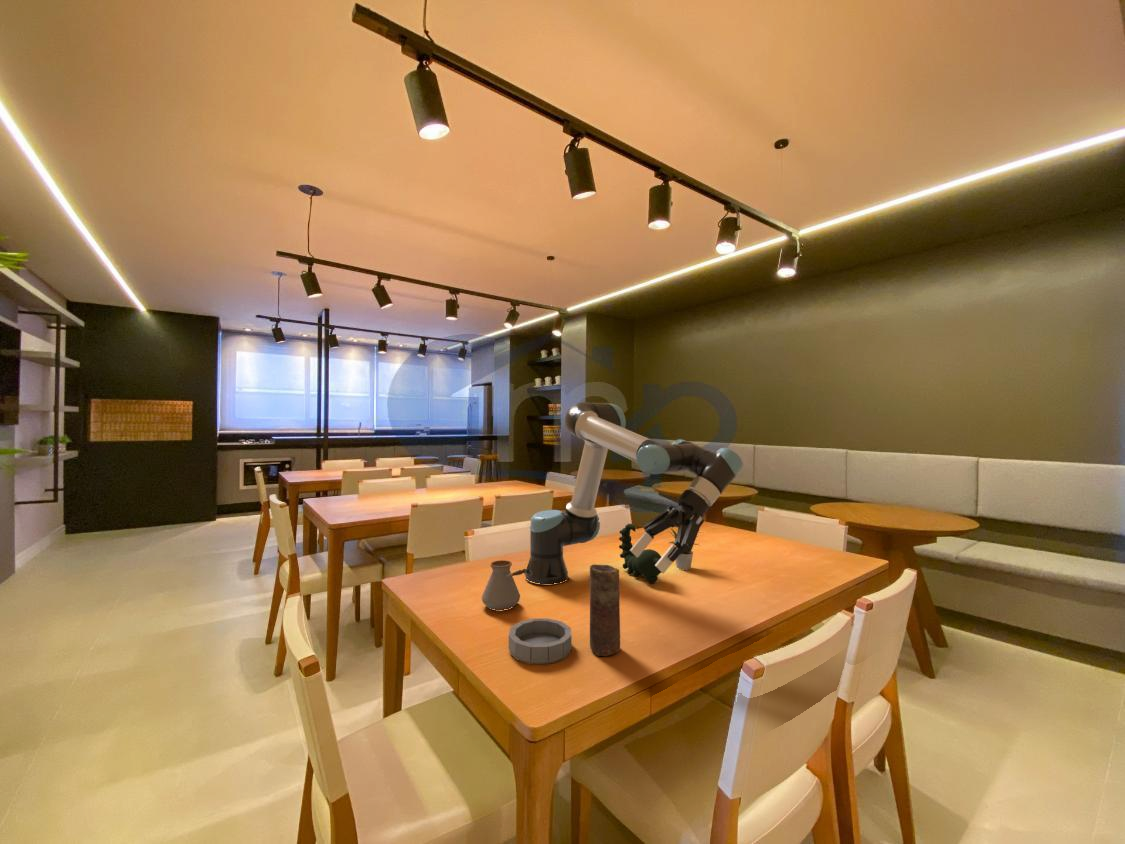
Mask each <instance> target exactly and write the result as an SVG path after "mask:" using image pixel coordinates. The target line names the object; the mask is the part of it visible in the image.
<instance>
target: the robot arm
mask: <svg viewBox="0 0 1125 844" xmlns="http://www.w3.org/2000/svg"><path fill="white" fill-rule="evenodd" d="M564 417H565V418H564V424H565V427H566V429H567V431H568V432H569V433H570V434H571V435H573V436H574V437H576V438H578V439H579V440H583V441H584V446H583V450H582V454H581V458H580V463H579V467H578V471H577V475H576V480H575V485H574V489H573V493H572V497H571V501H570V502H568V503H566V506H565V510H564V512H563V511H562V510H559V509H550V510H548V509H547V510H540V511H538V512H536V513H534V514H532V516H531V518H530V526H529V529H530V531H529V532H530V539H529V540H530V547H529V548H530V551H529V552H530V557H529V560H528V563H527V567H526V569H529V571H528V572H526V573H524V578H525V577H526V579H528V580H529V581H532V582H535V583H540V584H554V583H560V582H563V581H565V580H567V581H568V579H569V577H568V576H569V572H568V568H567V564H566V562H565V559H564V547H566V546H571V545H577V544H584V543H585V544H586V543H588V542H590V541H593V540H594V539H596V537H597V536H598V534H599V531H600V527H601V523H600V521H599V520H600V517H599V515H598V511H597V509H596V508H595V504H596V501H597V496H598V492H599V487H600V485H601V484H600V483H601V480H602V475H603V472H604V467H605V463H606V458H607V455H608V451H609V450H610V451H612V452H614V453H616V454H618V455H620V456H622V457H624V458H626V459H628V460H629V461H632V462H635V463H636V465H637V467H638V468H639V469H640V471H641V472H643V473H644V474H647V475H659V474H660V475H661V474H668V473H669V474H670V473H680V472H689V473H691V474H693V475H695V477H694V479H692V481H691V482H690V483H689V485H688V486H687V487H686V489H685V490H684V491H683V492H682V493H681V494H680V495H679V496H678V498H677V503H678V505H677V506H676V507H673V506H672V505H671V504H669V505H668V506H667V507H666V508H665V509H664V510H663V511H661V512H660V513H659V514H657V515H656V516H655V517H654V518H652V519H651V520H650V521H648V522H647V523H646V524H645V525H643V527H642V529H643V530H644V533H643V534H642V535H641V537H639V539H638V540H637V541H636V542H635V543H634V544H633V547H632V548H631V549H630V551H631V552H632V553H633V554H634V555H635V556H636V557H637V558H638V557H639V556H640V554H641V553H642V552H643V551H644V550H646V549H647V547H648V546H649V545H650V543H652V541H653V540H654V538H655V536H657V535H658V534H660V533H662V532H664V531H666V530H668V529H670V528H672V529H673V528H677V532H676V534H677V537H676V542H675V541H673V543H671V545H670V546H669V547H668V549H666V551H665V552H664V553H663V554H662V556H661V558H660V559H659V561H658V562H657V563H656V564H655V566H656V567H657V568H658V569H659V570H660V571H661V572H662V573H661V574H663V575H664V574H665V573H666V572H667V570H668V569H669V568H670V566H672V564H673V563H674V562H676V558H677V557H678V556H679V555H680V554H681V552H682V553H683V552H685V551H687V552H690V551H692V550H693V548H692V547H694V546H695V543H696V540H697V538H698V537H697V536H698V534H699V533H698V532H699V531H700V530H701V529H700V528H701V527H702V525H703V524H704V522H705V519H704V518H703V517H704V516H705V515H706V513H707V512H708V511H709V509H710V507H712V506H713V504H714V503H716V501H717V499H719V497H720V495H722V494H723V491H725V489H727V487H728V486H729V485H730V484H731V483H732V481H733V480H735V479H736V477H737V475H738V474H739V472H740V471H741V469H743V466H744V463H743V459H742V458H741V456H740V455H739V454H738V453H737V452H735V450H732V449H731V448H728V447H721V448H719V449H717V451H716V452H714V451H710V450H708V449H706V448H704V447H701V446H699V445H696V444H694V443H693V442H691V441H688V440H685V439H676V440H675V441H673V442H672V443H671V444H669V443H668V444H663V443H660V442H658V441H656V440H653V439H650V438H648V437H646V436H643V435H641V434H638V433H636V432H633V431H632V430H629V429H627V428H626V423H627V422H626V416H625V414H624V411H623V409H622V408H621V407H620V406H618V405H617V404H614V403H608V402H586V401H582V402H576V403H575V404H573V405H572V406H570V407H569V408H568V410H567V411H566V413H565V416H564ZM695 539H696V540H695ZM694 542H695V543H694ZM687 543H688V544H687ZM530 570H531V571H532V575H531V571H530ZM525 574H526V576H525ZM530 575H531V576H530ZM527 576H530V577H527ZM567 578H568V579H567ZM526 579H525V580H526ZM565 582H566V581H565ZM563 583H564V582H563Z"/></svg>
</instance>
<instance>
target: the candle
mask: <svg viewBox="0 0 1125 844" xmlns="http://www.w3.org/2000/svg"><path fill="white" fill-rule="evenodd" d="M620 613H621V611H620V569H619V568H616V567H614V566H612V565H610V564H591V565H590V566H589V647H590V649H591V652H592V654H594V655H595V656H597V657H598V656H599V657H601V656H602V657H608V656H610V655H613V654H616V653H618V652H619V651H620V648H621V617H620V616H621V615H620Z"/></svg>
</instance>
